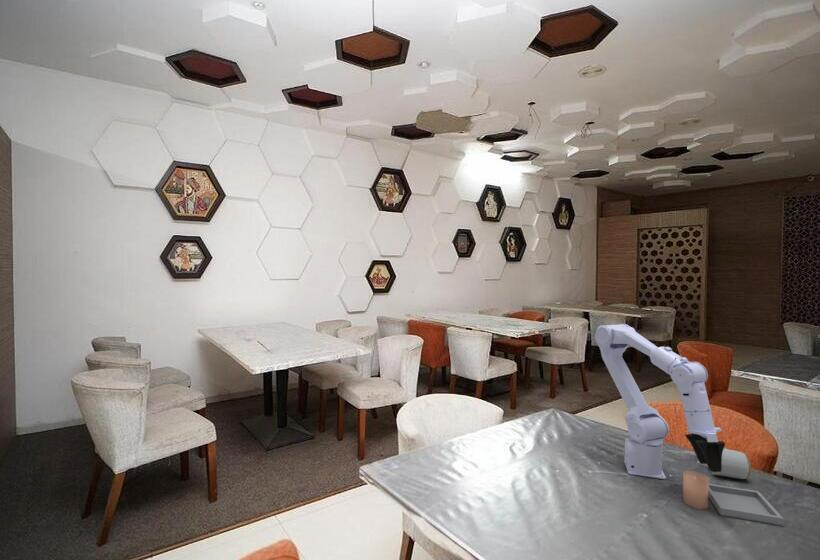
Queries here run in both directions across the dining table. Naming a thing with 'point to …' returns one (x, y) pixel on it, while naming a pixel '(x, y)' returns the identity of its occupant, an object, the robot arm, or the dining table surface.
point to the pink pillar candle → (695, 489)
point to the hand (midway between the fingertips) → (710, 467)
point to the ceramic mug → (734, 465)
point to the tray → (743, 504)
